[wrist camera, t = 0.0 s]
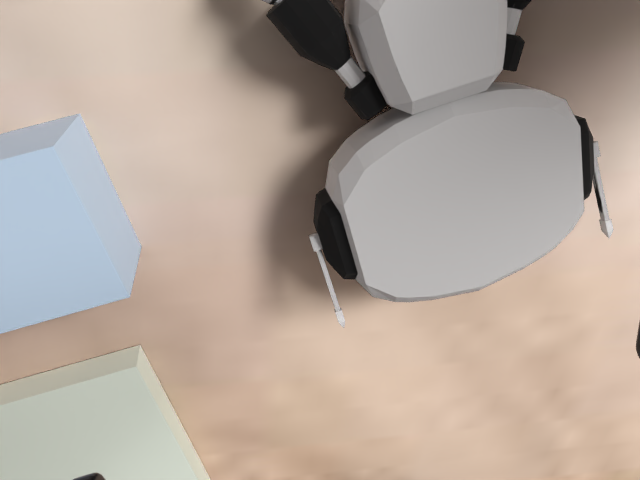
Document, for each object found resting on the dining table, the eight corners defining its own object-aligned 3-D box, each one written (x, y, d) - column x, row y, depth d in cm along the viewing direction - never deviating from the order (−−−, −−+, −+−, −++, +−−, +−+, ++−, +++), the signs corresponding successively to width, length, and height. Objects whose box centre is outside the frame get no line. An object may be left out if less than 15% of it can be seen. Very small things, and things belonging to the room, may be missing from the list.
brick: (141, 244, 22) (129, 297, 19) (5, 282, 22) (-33, 342, 19) (81, 111, 19) (53, 146, 16) (-80, 153, 19) (-144, 197, 15)
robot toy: (215, -46, 18) (326, 292, 25) (212, -60, 14) (346, 348, 21) (536, -147, 19) (561, 213, 25) (622, -189, 15) (625, 253, 21)
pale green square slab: (216, 491, 31) (216, 514, 29) (17, 551, 30) (8, 578, 29) (140, 344, 25) (136, 366, 23) (-113, 417, 24) (-131, 443, 23)
